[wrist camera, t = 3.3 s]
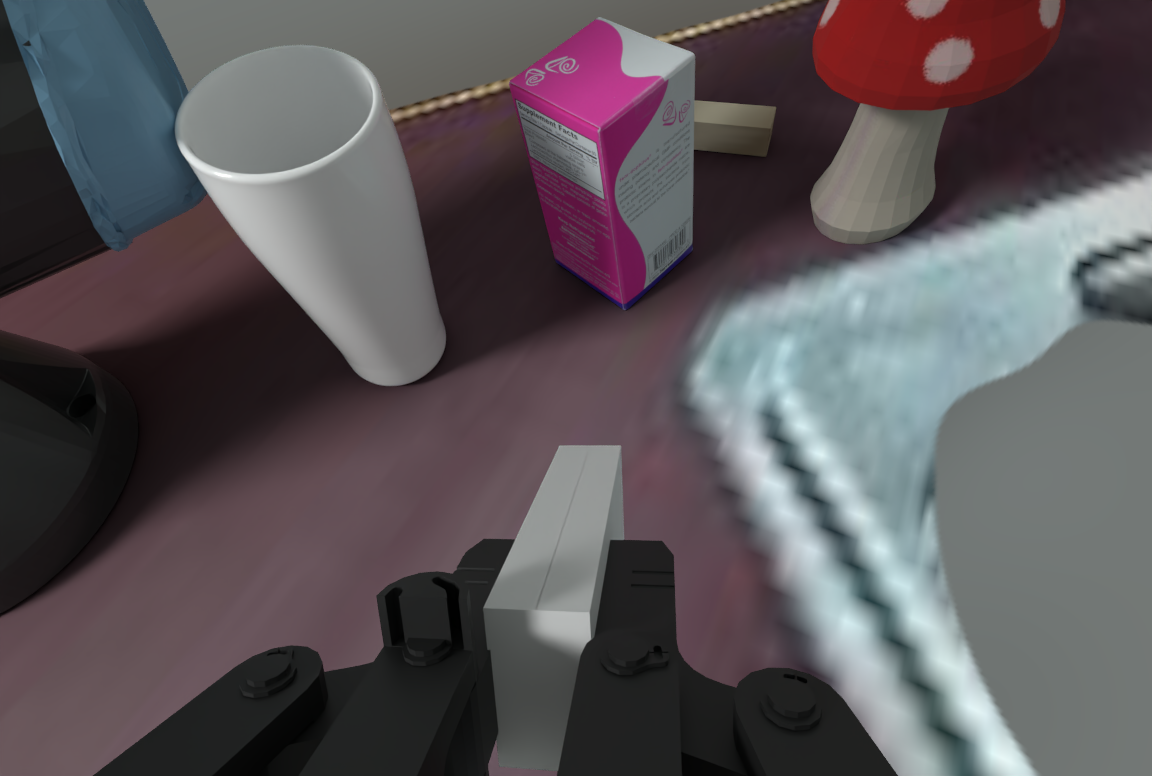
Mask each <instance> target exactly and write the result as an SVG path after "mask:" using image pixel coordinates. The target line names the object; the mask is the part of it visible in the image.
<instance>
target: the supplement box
mask: <svg viewBox="0 0 1152 776" xmlns="http://www.w3.org/2000/svg"><path fill="white" fill-rule="evenodd" d="M509 86H510V89H511V93H512V97H513V101H514V105H515V108H516V112H517V116H518V120H519V123H520V127H521V131H522V135H523V139H524V143H525V146H526V151H527V155H528V158H529V162H530V166H531V169H532V173H533V177H534V181H535V184H536V188H537V192H538V196H539V200H540V203H541V207H542V211H543V215H544V219H545V223H546V226H547V230H548V234H549V238H550V242H551V246H552V249H553V253H554V257H555V261H556V262H557V263H558V264H559V265H561V266H562V267H564V268H565V269H566V270H568V271H569V272H571V273H572V274H574V275H575V276H576V277H578V278H579V279H581V280H582V281H584V282H585V283H586V284H588V285H589V286H591V287H592V288H593V289H595V290H596V291H598V292H599V293H601V294H602V295H603V296H605V297H606V298H608V299H609V300H611V301H612V302H614V303H615V304H616V305H618V306H619V307H620V308H622V309H623V310H627V309H628V308H630V307H631V306H632V305H633V304H634V303H635V302H636V301H637V300H639V299H640V298H641V297H642V296H643V295H644V294H645V293H646V292H647V291H649V290H650V289H651V288H652V287H653V286H654V285H655V284H656V283H657V282H659V281H660V280H661V279H662V278H663V277H664V276H665V275H666V274H667V273H668V272H670V271H671V270H672V269H673V268H674V267H675V266H676V265H677V264H678V263H679V262H681V261H682V260H683V259H684V258H685V257H686V256H687V255H688V254H690V253H691V252H692V251H693V245H692V240H693V162H694V99H695V54H694V53H692V52H690V51H687V50H685V49H682V48H679V47H676V46H673V45H670V44H668V43H665V42H662V41H659V40H656V39H654V38H651V37H648V36H646V35H643V34H640V33H638V32H636V31H633V30H631V29H628V28H626V27H623V26H621V25H619V24H616V23H614V22H611V21H609V20H606V19H604V18H601V17H599V18H597V19H595V20H594V21H593V22H592V23H590V24H589V25H588V26H586V27H585V28H583V29H582V30H580V31H579V32H578V33H576V34H575V35H574V36H572V37H571V38H570V39H568V40H567V41H565V42H564V43H562V44H561V45H560V46H558V47H557V48H555V49H554V50H553V51H551V52H550V53H548V54H547V55H546V56H544V57H543V58H542V59H540V60H539V61H537V62H536V63H534V64H533V65H532V66H530V67H529V68H528V69H526V70H525V71H523V72H522V73H520V74H519V75H517V76H516V77H515V78H513V79H512V80H510V82H509Z"/></svg>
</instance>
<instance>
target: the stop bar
mask: <svg viewBox="0 0 1152 776" xmlns="http://www.w3.org/2000/svg"><path fill="white" fill-rule="evenodd" d="M775 112H776V107H771V106H759V105H746V104H734V103H722V102H709V101H697V100H694V150H703V151H713V152H723V153H733V154H743V155H752V156H762V157H766V155H767V151H768V147H769V144H770V140H771V136H772V130H773V124H774V118H775Z"/></svg>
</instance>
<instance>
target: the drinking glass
mask: <svg viewBox="0 0 1152 776" xmlns="http://www.w3.org/2000/svg"><path fill="white" fill-rule="evenodd" d="M175 138H176V142H177V145H178V147H179V149H180V151H181V153H182V155H183V156H184V157H185V159H186V160H187V162H188V163H189V165H190V167H191V168H192V170H193V171H194V173H195V175H196V176H197V178H198V179H199V181H200V182H201V184H202V185H203V187H204V188H205V190H206V192H207V193H208V195H209V196H210V197H211V199H212V200H213V202H214V203H215V205H216V206H217V208H218V209H219V210H220V212H221V213H222V215H223V216H224V217H225V219H226V220H227V221H228V223H229V224H230V225H231V227H232V228H233V229H234V231H235V232H236V233H237V235H238V236H239V237H240V238H241V240H242V241H243V242H244V244H245V245H246V246H247V247H248V248H249V250H250V251H251V252H252V253H253V254H254V256H255V257H256V258H257V259H258V260H259V261H260V262H261V263H262V265H263V266H264V267H265V268H266V269H267V270H268V271H269V272H270V274H271V275H272V276H273V277H274V278H275V279H276V280H277V281H278V282H279V284H280V285H281V286H282V287H283V288H284V289H285V290H286V291H287V292H288V293H289V295H290V296H291V297H292V298H293V299H294V300H295V301H296V302H297V303H298V305H299V306H300V307H301V308H302V309H303V310H304V311H305V312H306V313H307V315H308V316H309V317H310V318H311V319H312V320H313V321H314V322H315V324H316V325H317V326H318V327H319V328H320V329H321V330H322V331H323V333H324V334H325V335H326V336H327V337H328V338H329V339H330V341H331V342H332V343H333V344H334V345H335V346H336V347H337V349H338V350H339V351H340V352H341V353H342V355H343V356H344V358H345V359H346V361H347V362H348V363H349V365H350V366H351V368H352V369H353V370H354V371H355V372H356V373H357V374H358V375H359V376H360V377H362V378H363V379H365V380H367V381H369V382H371V383H374V384H377V385H382V386H400V385H405V384H409V383H411V382H414V381H416V380H418V379H420V378H422V377H423V376H425V375H426V374H427V373H429V372H430V371H431V370H432V369H433V368H434V367H435V366H436V365H437V363H438V362H439V360H440V359H441V357H442V355H443V352H444V349H445V345H446V330H445V326H444V323H443V320H442V317H441V314H440V311H439V307H438V303H437V298H436V294H435V289H434V284H433V280H432V275H431V270H430V265H429V260H428V255H427V250H426V245H425V240H424V235H423V230H422V225H421V220H420V215H419V210H418V206H417V201H416V196H415V192H414V188H413V184H412V180H411V176H410V172H409V168H408V165H407V161H406V158H405V155H404V151H403V148H402V145H401V142H400V139H399V136H398V133H397V130H396V128H395V125H394V122H393V119H392V117H391V114H390V112H389V109H388V106H387V104H386V101H385V99H384V96H383V94H382V91H381V87H380V85H379V83H378V81H377V79H376V77H375V76H374V74H373V73H372V72H371V71H370V69H368V68H367V67H366V66H365V65H364V64H363V63H362V62H360V61H359V60H357V59H356V58H354V57H352V56H350V55H348V54H346V53H343V52H341V51H338V50H334V49H331V48H326V47H320V46H312V45H288V46H278V47H272V48H267V49H262V50H258V51H255V52H252V53H249V54H246V55H243V56H240V57H238V58H236V59H233V60H231V61H229V62H227V63H225V64H223V65H221V66H220V67H218V68H216V69H215V70H213V71H212V72H210V73H209V74H208V75H206V76H205V77H204V78H202V79H201V80H200V81H199V82H198V83H197V84H196V85H195V86H194V87H193V88H192V89H191V90H190V91H189V93H188V94H187V95H186V97H185V98H184V100H183V102H182V103H181V105H180V107H179V110H178V112H177V116H176V120H175Z"/></svg>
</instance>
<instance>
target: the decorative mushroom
mask: <svg viewBox="0 0 1152 776" xmlns="http://www.w3.org/2000/svg"><path fill="white" fill-rule="evenodd" d="M1064 13H1065V0H828V2H827V5H826V7H825V9H824V11H823V13H822V15H821V17H820V19H819V22H818V25H817V28H816V31H815V34H814V37H813V59H814V63H815V68H816V72H817V74H818V75H819V76H820V77H821V78H822V79H823V80H824V82H825V83H826V84H827V85H828V86H829V87H830V88H831V89H832V90H834V91H836V92H838V93H840V94H842V95H844V96H846V97H848V98H850V99H852V100H854V101H856V102H858V103H860V105H859V108H858V110H857V112H856V115H855V117H854V120H853V122H852V124H851V126H850V129H849V131H848V133H847V135H846V137H845V139H844V141H843V143H842V145H841V147H840V149H839V151H838V152H837V154H836V156H835V158H834V160H833V161H832V163H831V165H830V166H829V167H828V168H827V170H826V171H825V172H824V173H823V175H822V176H821V177H820V178H819V179H818V181H817V182H816V183H815V184H814V187H813V190H812V192H811V195H810V199H811V207H812V213H813V219H814V224H815V225H816V227H817V228H818V230H819V231H820V232H821V233H822V234H823V235H825V236H827V237H828V238H830V239H831V240H835V241H838V242H842V243H846V244H868V243H874V242H880V241H882V240H885V239H888V238H890V237H893V236H895V235H897V234H898V233H900V232H901V231H903V230H904V229H905V228H907V227H908V226H909V225H910V224H911V223H912V222H913V221H914V220H915V219H916V218H917V217H918V216H919V215H920V214H921V213H922V212H923V211H924V209H925V208H926V207H927V206H928V204H929V203H930V202H931V200H932V199H933V195H934V191H935V187H936V185H935V173H934V162H935V156H936V151H937V146H938V142H939V138H940V134H941V130H942V127H943V124H944V121H945V118H946V115H947V112H948V109H949V108H950V107H956V106H962V105H969V104H972V103H975V102H978V101H980V100H983V99H986V98H989V97H991V96H994V95H997V94H999V93H1002V92H1005V91H1006V90H1008V89H1009V88H1011V87H1012V86H1014V85H1015V84H1017V83H1018V82H1020V81H1021V80H1023V79H1024V78H1025V77H1027V76H1028V75H1030V74H1031V73H1032V72H1033V71H1034V70H1035V69H1036V67H1037V66H1038V65H1039V64H1040V63H1041V62H1042V61H1043V60H1044V58H1045V57H1046V55H1047V54H1048V53H1049V51H1050V50H1051V48H1052V47H1053V45H1054V44H1055V42H1056V41H1057V39H1058V37H1059V33H1060V29H1061V25H1062V21H1063V17H1064Z"/></svg>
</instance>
